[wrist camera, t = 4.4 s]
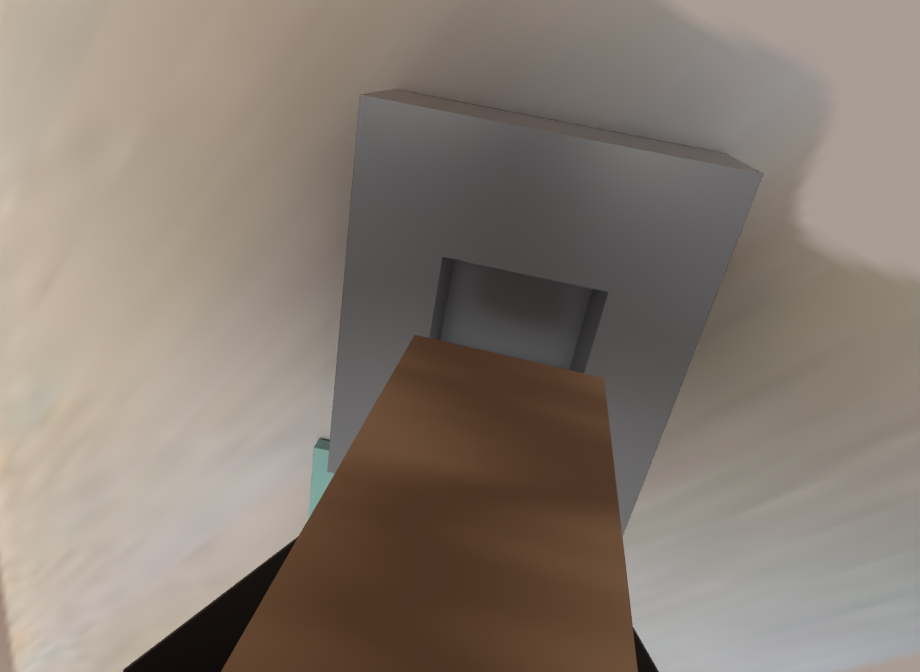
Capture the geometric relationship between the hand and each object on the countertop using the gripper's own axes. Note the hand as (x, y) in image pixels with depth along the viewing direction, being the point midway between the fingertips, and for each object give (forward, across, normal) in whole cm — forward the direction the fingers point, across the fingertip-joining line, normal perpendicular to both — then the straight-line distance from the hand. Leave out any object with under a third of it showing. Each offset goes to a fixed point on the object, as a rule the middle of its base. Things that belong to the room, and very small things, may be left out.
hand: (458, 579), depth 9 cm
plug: (+4, 0, 0) cm, 4 cm away
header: (+12, 0, 0) cm, 12 cm away
